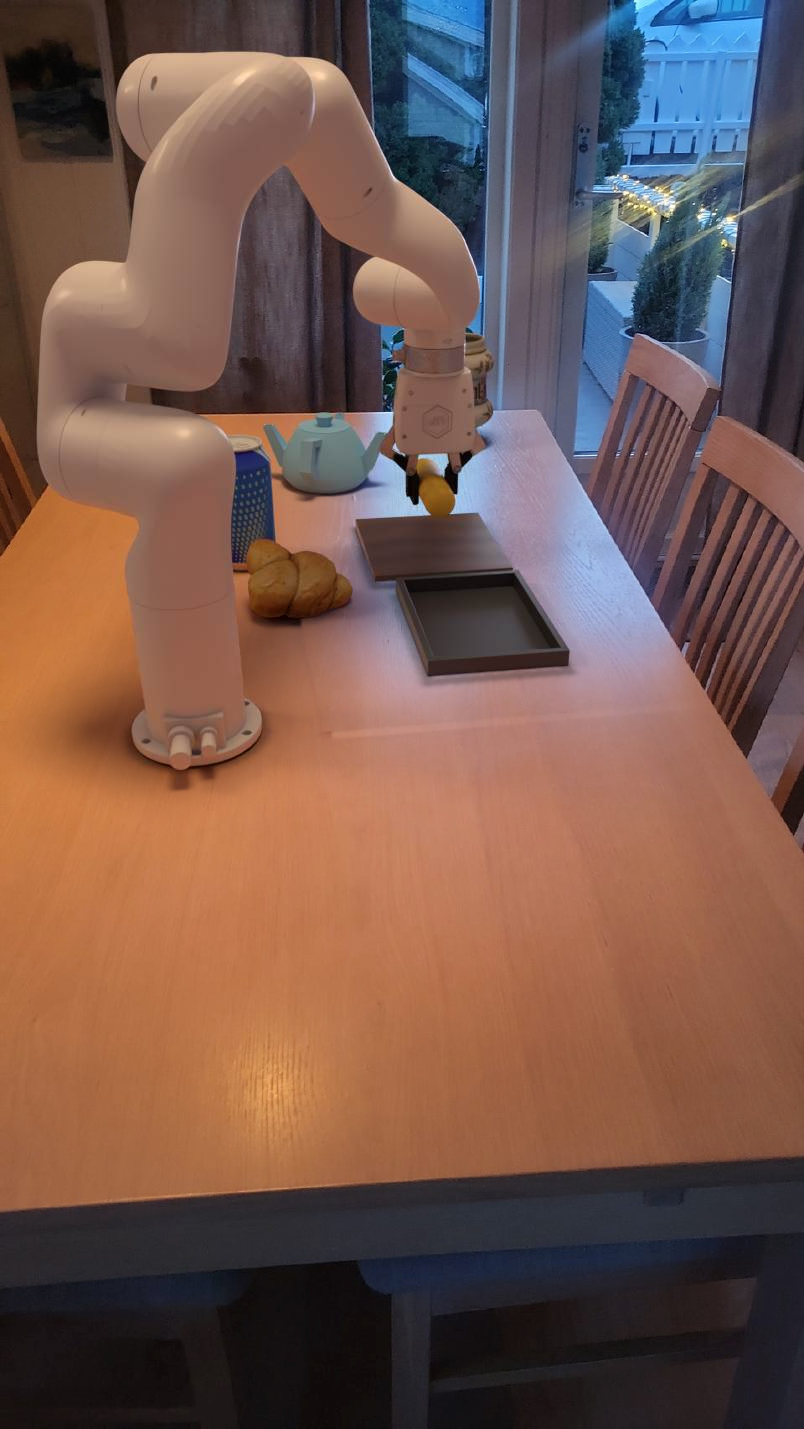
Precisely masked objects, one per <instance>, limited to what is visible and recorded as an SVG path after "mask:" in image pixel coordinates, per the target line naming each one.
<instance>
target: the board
mask: <svg viewBox="0 0 804 1429" xmlns="http://www.w3.org/2000/svg"><path fill="white" fill-rule="evenodd" d="M354 522H355V531H356V534H357V537H358V541H359V543H360V547H361V549H362V552H363V555H364V558H365V561H366V563H367V564H368V565H369V568H370V571H371V574H372V577H373V580H374V582H392V581H396V578H400V577H416V576H432V575H448V574H464V573H480V572H496V571H512V570H514V567H513V565H512V564H511V562H510V560H509V559H508V557H507V556H506V554H505V553H504V551H503V549H502V547H501V546H500V545H499V543H498V541H497V540H496V539H495V537H494V535H493V534H492V532H491V531H490V529H489V527H488V525H487V523H485V521H484V519H483V518H482V516H481V515H480V512H461V513H450V514H449V515H447V516H445V517H434V516H432V515H431V514H425V515H408V516H407V515H406V516H390V517H387V516H386V517H370V518H368V517H367V518H355V520H354Z"/></svg>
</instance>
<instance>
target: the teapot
mask: <svg viewBox="0 0 804 1429" xmlns="http://www.w3.org/2000/svg"><path fill="white" fill-rule="evenodd" d="M314 417H315V418H313V419H308V420H304V421H302V422H300V423H299V424H298V425H297V426H296V428H295V430H294V431H293V433H292V434H291V436H290V438H289V440H288V442H287V440H286V439H285V438H284V436H283V435H282V434H281V432H280V431H279V430H278V428H277V427H276V426H275V423H265V424H263V425H262V429H263V432H264V433H265V436H266V438H267V440H268V442H269V443H268V444H269V446H270V448H271V450H272V453H273V454H274V457H275V459H276V462H277V464H278V466H279V467H281V473H282V475H283V477H284V478H285V480H286V481H287V482H288V484H290V485H291V486H292V487H293V488H294V489H296V490H298V491H301V492H306V493H309V494H319V495H320V494H323V495H325V494H326V495H329V494H340V493H345V492H349V491H352V490H355V489H356V488H358V487H359V486H361V485H362V483H363V482H364V481H365V480H366V478H367V477H368V476H369V474H370V472H371V471H372V470H374V468H375V466H376V463H377V460H378V458H379V455H380V454H381V453H380V451H379V446H380V444H381V442H382V441H383V439H384V438H385V436H386V435H387V433H388V432H386V431H385V432H384V431H376V432H375V433H374V437H373V438H372V440H371V441H370V443H369V445H368V446H367V448H366V446H365V445H364V443H363V441H362V439H361V437H360V436H359V434H358V433H357V432H356V430H355V428H354V427H353V426H352V424H350V422H348V421H346V418H345V413H344V412H336V413H335V414H333V413H330V412H325V411H324V412H318V413H316V414H314Z"/></svg>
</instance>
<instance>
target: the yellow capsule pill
mask: <svg viewBox="0 0 804 1429" xmlns="http://www.w3.org/2000/svg"><path fill="white" fill-rule="evenodd" d="M416 469H417V474H418V475H419V499H420V500H421V502H422V504H423V506H424V509H425V510H426V512H427V513H428V515H432V516H434V517H445V516H447V515H449V514H452V512H453V511H454V509H455V507H456V496H455V495H454V494H453V492H452V490H451V488H450V487H449V485H448V483H447V482H446V480H445V478H444V474H443V473H442V471H441V470H440V469H439V466H438V465H437V463H436V462H435V461H434V460H432V459H430V458H428V457H422V458H421V457H420V458H418V462H417V466H416Z"/></svg>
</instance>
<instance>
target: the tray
mask: <svg viewBox="0 0 804 1429" xmlns="http://www.w3.org/2000/svg"><path fill="white" fill-rule="evenodd" d="M395 593H396V595H397V598H398V600H399V603H400V606H401V609H402V611H403V613H404V616H405V619H406V622H407V625H408V627H409V630H410V632H411V636H412V638H413V640H414V643H415V646H416V648H417V651H418V654H419V657H420V659H421V662H422V665H423V668H424V670H425V672H426V675H427V677H435V676H448V675H462V674H475V673H476V674H477V673H488V672H502V671H514V670H526V669H527V670H528V669H540V668H554V667H567V666H569V664H570V663H569V662H570V654H571V652H570V651H571V650H570V648H569V647H568V645H567V643H566V642H565V641H564V640H563V637H562V636H561V634H560V633H559V631H558V629H557V628H556V627H555V625H554V623H553V621H552V620H551V618H549V616H548V613H547V612H546V611H545V609H544V608H543V606H542V604H541V603H540V601H539V600H538V598H537V597H536V595H535V593H534V592H533V590H532V589H531V587H530V586H529V584H528V583H527V581H526V580H525V578H524V576H523V575H522V573H521V572H520V570H519V569H515V570H514V569H513V570H512V571H496V572H480V573H464V574H448V575H432V576H416V577H400V578H396V580H395Z"/></svg>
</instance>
